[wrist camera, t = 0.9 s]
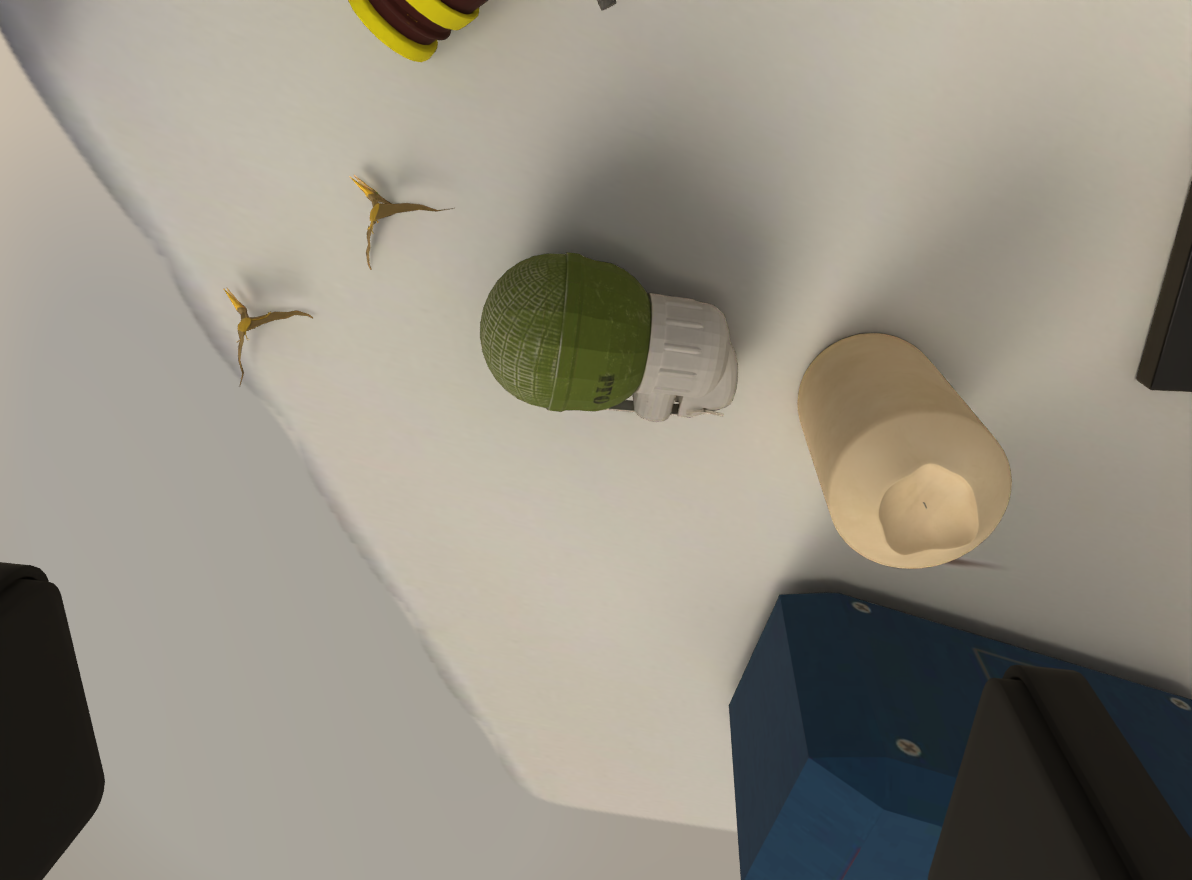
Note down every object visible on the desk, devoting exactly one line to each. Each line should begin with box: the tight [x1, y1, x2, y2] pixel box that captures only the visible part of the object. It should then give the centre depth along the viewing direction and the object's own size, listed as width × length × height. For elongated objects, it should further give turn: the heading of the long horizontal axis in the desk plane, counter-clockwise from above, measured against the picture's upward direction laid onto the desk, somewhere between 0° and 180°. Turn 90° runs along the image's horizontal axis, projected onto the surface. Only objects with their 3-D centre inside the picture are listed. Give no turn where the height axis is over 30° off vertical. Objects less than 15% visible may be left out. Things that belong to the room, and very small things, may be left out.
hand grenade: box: [480, 252, 738, 422], centre depth 32 cm, size 6×6×10 cm
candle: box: [798, 333, 1012, 569], centre depth 30 cm, size 6×6×10 cm
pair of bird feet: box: [224, 175, 453, 385], centre depth 34 cm, size 12×3×3 cm
